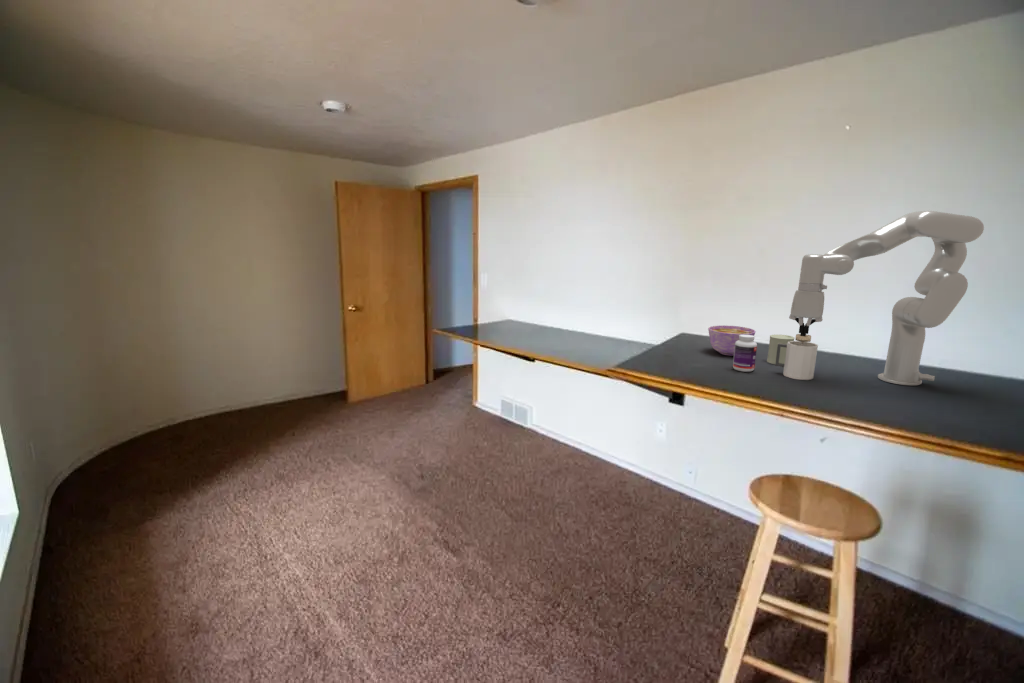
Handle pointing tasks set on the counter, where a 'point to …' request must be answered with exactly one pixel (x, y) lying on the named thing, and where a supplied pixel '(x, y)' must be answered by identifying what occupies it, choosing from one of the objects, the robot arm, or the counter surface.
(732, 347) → the bowl of food
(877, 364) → the counter surface
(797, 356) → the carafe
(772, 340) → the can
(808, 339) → the plunger
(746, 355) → the pill bottle
